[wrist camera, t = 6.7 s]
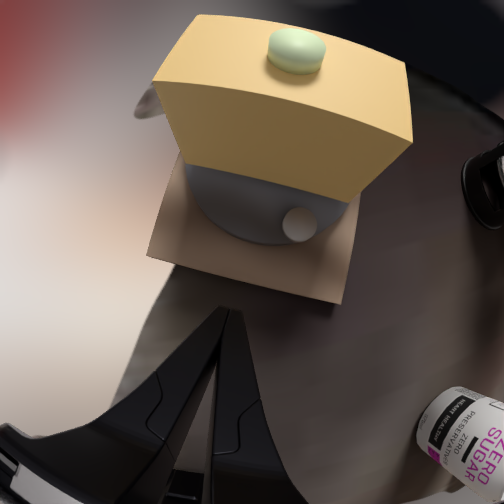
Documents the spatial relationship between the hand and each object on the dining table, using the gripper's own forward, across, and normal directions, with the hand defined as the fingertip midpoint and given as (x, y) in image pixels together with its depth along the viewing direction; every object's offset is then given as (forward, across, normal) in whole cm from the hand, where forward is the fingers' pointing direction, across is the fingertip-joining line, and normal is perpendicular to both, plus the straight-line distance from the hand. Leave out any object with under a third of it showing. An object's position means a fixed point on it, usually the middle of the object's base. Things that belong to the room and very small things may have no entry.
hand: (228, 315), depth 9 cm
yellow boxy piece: (+15, 0, -1) cm, 15 cm away
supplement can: (+3, -25, +16) cm, 30 cm away
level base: (+18, 0, +1) cm, 18 cm away
